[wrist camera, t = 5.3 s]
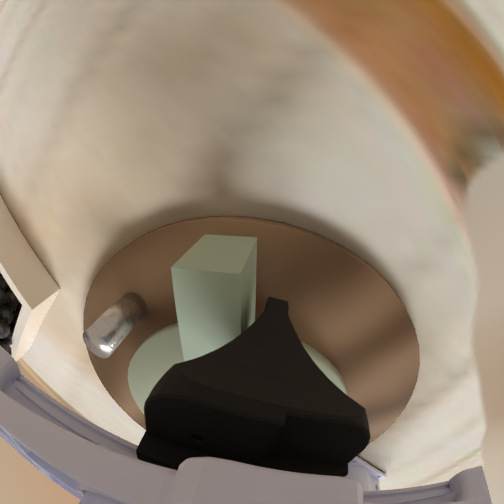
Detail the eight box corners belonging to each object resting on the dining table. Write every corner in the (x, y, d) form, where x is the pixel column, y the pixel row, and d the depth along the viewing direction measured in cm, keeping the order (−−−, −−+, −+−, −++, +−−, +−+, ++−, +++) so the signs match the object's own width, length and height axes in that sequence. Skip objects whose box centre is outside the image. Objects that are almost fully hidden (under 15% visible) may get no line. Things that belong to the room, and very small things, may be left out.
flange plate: (323, 460, 18) (322, 496, 15) (158, 436, 21) (143, 466, 17) (394, 247, 12) (426, 285, 8) (98, 229, 14) (51, 254, 10)
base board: (450, 395, 16) (471, 449, 11) (234, 475, 25) (224, 516, 19) (257, 112, 12) (227, 84, 6) (56, 335, 21) (18, 372, 15)
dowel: (158, 300, 17) (116, 351, 12) (143, 313, 17) (102, 362, 12) (138, 279, 16) (90, 324, 12) (125, 293, 17) (78, 338, 12)
